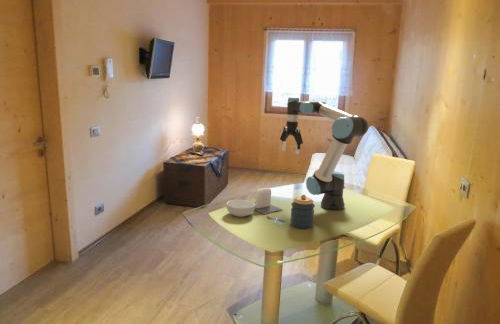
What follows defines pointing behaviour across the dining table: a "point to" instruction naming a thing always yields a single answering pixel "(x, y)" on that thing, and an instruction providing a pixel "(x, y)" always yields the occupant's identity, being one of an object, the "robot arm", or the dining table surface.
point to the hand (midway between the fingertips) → (290, 152)
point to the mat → (267, 209)
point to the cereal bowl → (240, 207)
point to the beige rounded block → (263, 198)
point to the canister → (302, 212)
